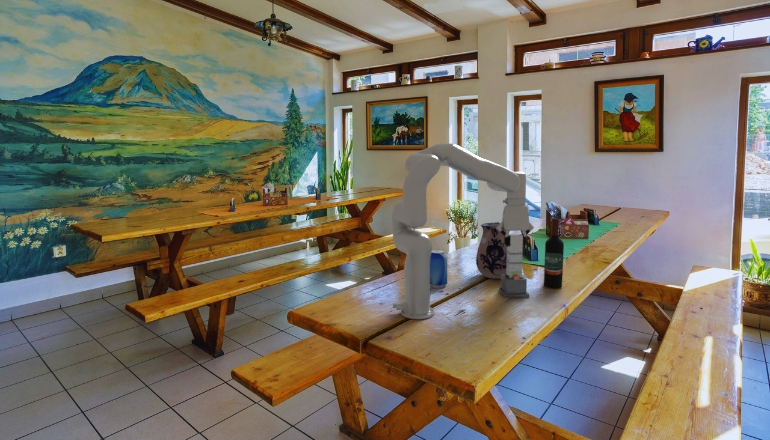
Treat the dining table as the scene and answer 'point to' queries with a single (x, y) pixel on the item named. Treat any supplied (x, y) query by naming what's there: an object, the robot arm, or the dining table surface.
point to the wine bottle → (554, 258)
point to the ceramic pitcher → (492, 252)
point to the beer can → (438, 268)
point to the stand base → (513, 287)
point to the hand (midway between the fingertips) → (514, 245)
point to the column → (514, 255)
